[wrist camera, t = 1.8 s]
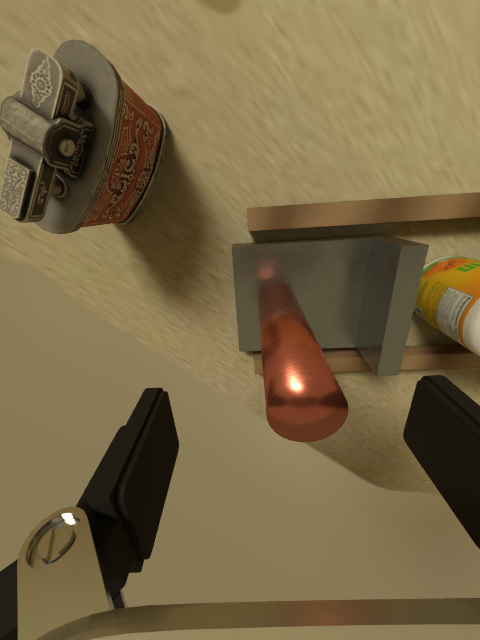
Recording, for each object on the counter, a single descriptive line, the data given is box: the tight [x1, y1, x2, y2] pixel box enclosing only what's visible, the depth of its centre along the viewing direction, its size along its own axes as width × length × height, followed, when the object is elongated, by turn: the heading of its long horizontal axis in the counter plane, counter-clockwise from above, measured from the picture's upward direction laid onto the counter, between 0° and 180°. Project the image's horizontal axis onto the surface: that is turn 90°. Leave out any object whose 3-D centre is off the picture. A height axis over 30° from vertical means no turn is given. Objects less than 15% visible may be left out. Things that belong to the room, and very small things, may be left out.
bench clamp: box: [247, 192, 480, 374], centre depth 19 cm, size 22×14×6 cm, turn 94°
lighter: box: [0, 40, 169, 234], centre depth 14 cm, size 8×3×10 cm, turn 148°
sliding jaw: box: [232, 235, 429, 442], centre depth 15 cm, size 12×9×13 cm
